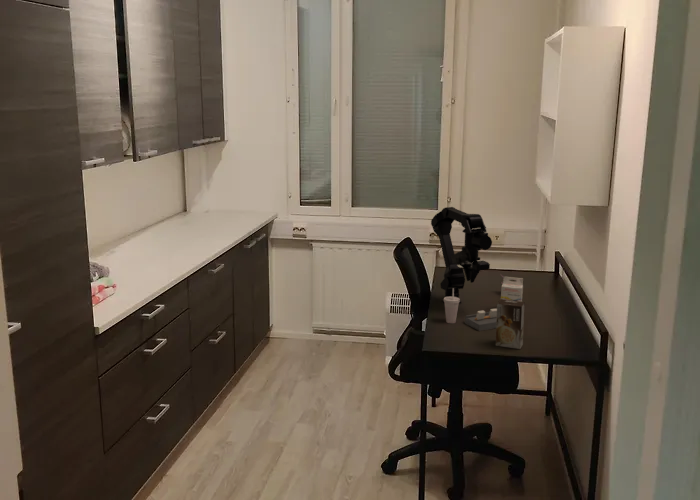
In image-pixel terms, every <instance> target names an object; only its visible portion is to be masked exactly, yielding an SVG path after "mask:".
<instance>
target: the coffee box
mask: <svg viewBox="0 0 700 500" xmlns="http://www.w3.org/2000/svg"><path fill="white" fill-rule="evenodd" d="M525 305H526V303H525V301H522V302H520V301H512V300H503V299H501V298H500V299H499V300H498V302H497V304H496V309H497V321H496V328H495V346H496V347H504V348H511V349H517V350H521V348H522V347H523V345H524V321H525Z"/></svg>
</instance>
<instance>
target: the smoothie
mask: <svg viewBox="0 0 700 500" xmlns="http://www.w3.org/2000/svg"><path fill="white" fill-rule="evenodd" d="M443 299H444V302H443V303H444V313H445V322H446V323H447V324H455V323H456V322H457V316H458V315H457V314H458V310H459V304H460V303H459V302H460V301H461V299H460V297H459V298H458V297H454V288H453V293H452V296H449V297H445V296H444V298H443Z"/></svg>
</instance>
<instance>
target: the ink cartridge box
mask: <svg viewBox="0 0 700 500" xmlns="http://www.w3.org/2000/svg"><path fill="white" fill-rule="evenodd" d="M513 280H514V281H513ZM523 281H524V278H523V277H513V276H504V277H503V278H502V282H503V284H502V283H501V284H502V285H501V289H500V299H503V300H512V301H520V302H523V292H524V284H523Z"/></svg>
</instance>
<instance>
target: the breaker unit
mask: <svg viewBox="0 0 700 500" xmlns="http://www.w3.org/2000/svg"><path fill="white" fill-rule="evenodd" d="M489 312H490V311H487V312H486V311H485V316H489ZM476 315H477V313H473V314H467V315H465V316H464V324H466V325H468V326H469V327H471V328H473V329H474V330H477V331H479V332H482V331H487V330H488V331H489V330H493V329H496V321H497V317H493V318H487V319H481V320H475V318H476ZM485 316H484V317H485Z"/></svg>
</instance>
